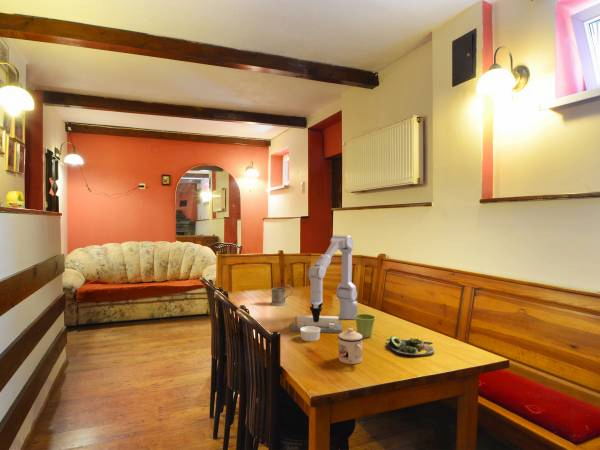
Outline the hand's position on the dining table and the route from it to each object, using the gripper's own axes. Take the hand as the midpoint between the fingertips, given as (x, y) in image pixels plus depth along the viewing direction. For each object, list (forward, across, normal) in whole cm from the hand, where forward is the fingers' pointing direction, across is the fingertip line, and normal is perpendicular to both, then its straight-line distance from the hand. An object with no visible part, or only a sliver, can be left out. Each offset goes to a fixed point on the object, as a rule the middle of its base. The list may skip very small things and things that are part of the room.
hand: (316, 319), depth 175 cm
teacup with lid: (+4, +39, +15) cm, 42 cm away
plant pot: (+4, +9, +22) cm, 24 cm away
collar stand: (+4, 0, 0) cm, 4 cm away
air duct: (+2, 0, 0) cm, 3 cm away
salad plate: (+5, +24, +38) cm, 45 cm away
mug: (+4, -46, -23) cm, 52 cm away
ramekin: (+4, +15, -2) cm, 16 cm away
